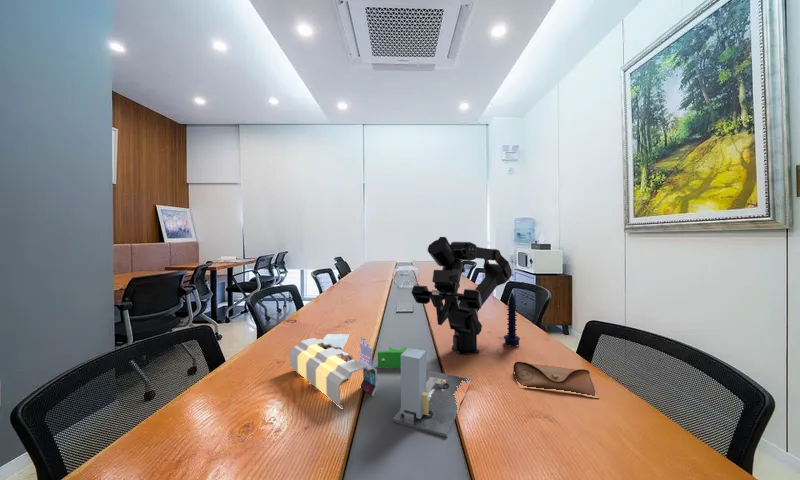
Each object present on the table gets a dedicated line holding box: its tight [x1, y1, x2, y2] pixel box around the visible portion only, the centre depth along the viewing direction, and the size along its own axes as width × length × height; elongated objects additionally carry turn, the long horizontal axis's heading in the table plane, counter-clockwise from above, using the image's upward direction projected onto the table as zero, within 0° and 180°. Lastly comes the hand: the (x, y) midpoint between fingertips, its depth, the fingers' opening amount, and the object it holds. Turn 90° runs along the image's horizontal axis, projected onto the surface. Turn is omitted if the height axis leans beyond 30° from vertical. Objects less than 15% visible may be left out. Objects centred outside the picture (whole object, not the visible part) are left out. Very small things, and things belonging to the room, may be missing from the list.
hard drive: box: [322, 333, 350, 351], centre depth 100 cm, size 2×8×12 cm
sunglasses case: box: [513, 361, 596, 396], centre depth 72 cm, size 18×7×7 cm, turn 75°
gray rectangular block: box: [399, 347, 429, 419], centre depth 60 cm, size 4×5×12 cm
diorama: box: [289, 336, 378, 408], centre depth 74 cm, size 25×10×13 cm, turn 43°
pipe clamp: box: [377, 346, 408, 369], centre depth 83 cm, size 11×4×5 cm, turn 89°
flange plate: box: [392, 370, 471, 438], centre depth 66 cm, size 22×11×2 cm, turn 155°
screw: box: [503, 291, 521, 347], centre depth 97 cm, size 18×5×5 cm
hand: (439, 324), depth 76 cm, fingers closed
